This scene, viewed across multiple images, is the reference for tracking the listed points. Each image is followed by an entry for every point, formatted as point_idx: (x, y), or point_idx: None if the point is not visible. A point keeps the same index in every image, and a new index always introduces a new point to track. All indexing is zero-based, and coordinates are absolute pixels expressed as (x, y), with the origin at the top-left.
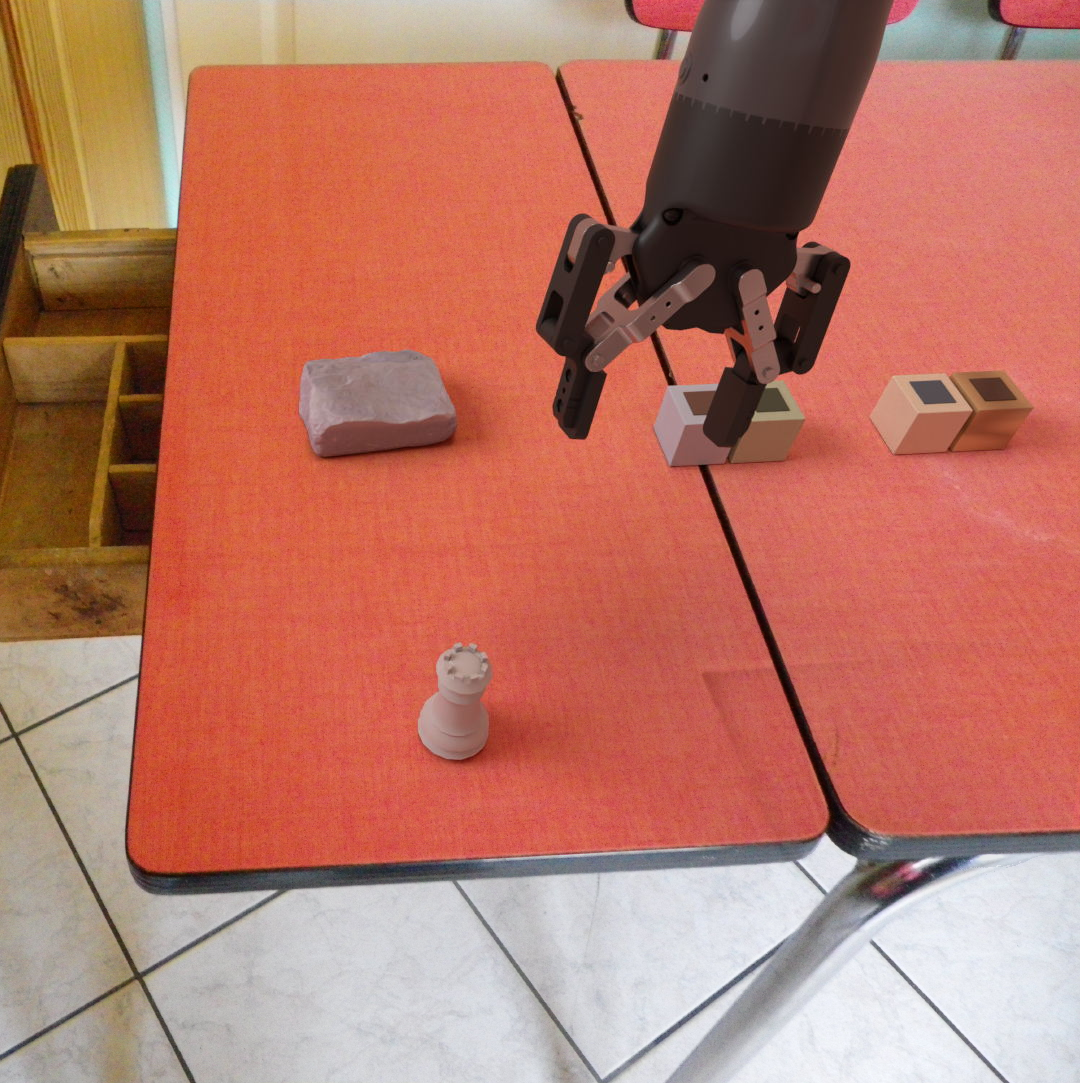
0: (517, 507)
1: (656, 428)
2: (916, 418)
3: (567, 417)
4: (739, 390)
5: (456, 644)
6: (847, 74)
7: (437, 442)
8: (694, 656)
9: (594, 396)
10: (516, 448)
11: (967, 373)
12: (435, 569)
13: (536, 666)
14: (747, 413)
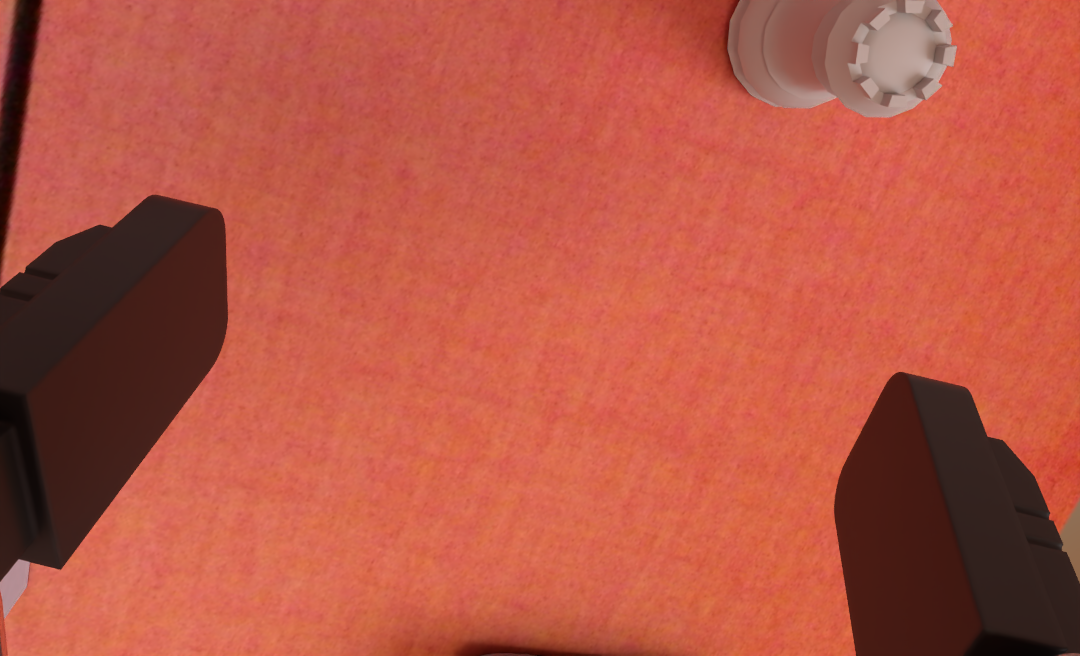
0: (414, 475)
1: (23, 581)
2: None
3: (1012, 475)
4: (70, 395)
5: (899, 105)
6: None
7: (498, 653)
8: (227, 16)
9: (981, 527)
10: (346, 606)
11: None
12: (638, 386)
13: (564, 114)
14: (60, 278)
